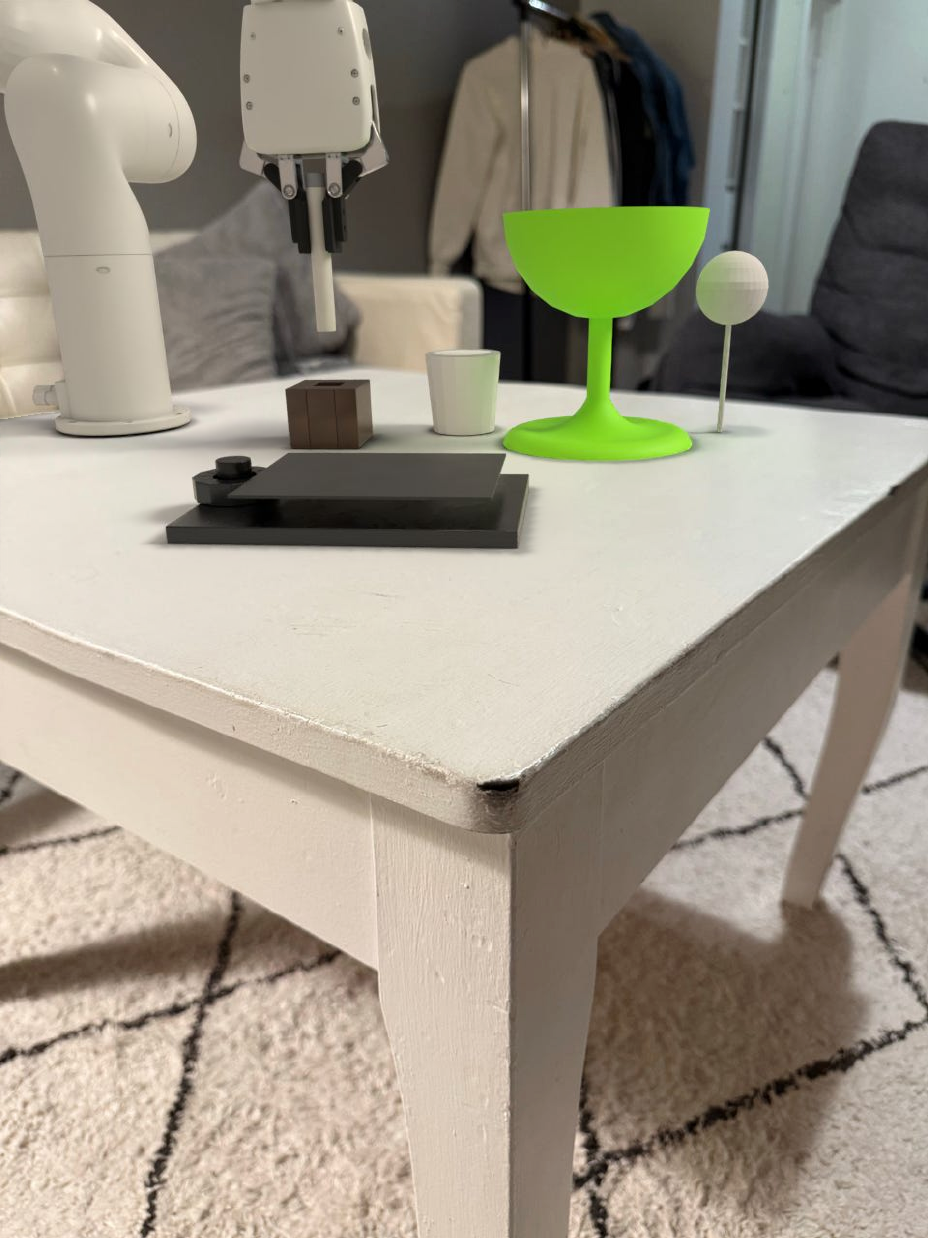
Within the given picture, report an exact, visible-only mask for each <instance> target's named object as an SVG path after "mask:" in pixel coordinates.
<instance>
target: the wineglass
mask: <svg viewBox="0 0 928 1238" xmlns="http://www.w3.org/2000/svg"><path fill="white" fill-rule="evenodd" d="M710 212H711V208H709V207H702V206H674V205H673V206H669V205H667V206H665V205H663V206H662V205H661V206H660V205H659V206H658V205H657V206H656V205H655V206H651V205H649V206H648V205H647V206H644V205H643V206H598V207H597V206H596V207H594V206H593V207H571V208H570V207H566V208H546V209H530V210H519V211H509V212H503V213H502V214H501V215H502V221H503V222H502V223H503V230H504V238H505V244H506V247H507V250H508V252H509V255H510V258H511V260H512V262H513V265H514V267H515V269H516V271H517V272H518V274H519V275H520V276H521V278H522V279H523V280H524V282H525V283H526V285H527V286H528V288H529V289H530V290H531V291H532V292H533V293H534V294H535V295H537V296H538V297H539V298H540V299H542V300H543V301H544V302H546V303H547V304H548V305H549V306H550V307H552V308H554V309H556V310H559V311H562V312H564V313H566V314H568V315H571V316H573V317H577V318H583V319H584V318H585V319H588V339H587V341H588V342H587V368H586V369H587V370H586V371H587V372H586V373H587V374H586V397H585V400H584V401H583V403H582V404H581V406H580V408H579V409H578V410H577V411H576V412H575V413H574V414H573V415H564V416H563V415H562V416H553V417H545V418H539V419H533V420H530V421H525V422H522V423H519V424H517V425H516V426H514V427H512V428H511V429H509V430H508V431H507V433H506V434H505V436H504V439H503V442H502V446H504V447H505V448H506V449H507V450H508V451H514V452H516V453H518V454H519V453H520V454H524V455H528V456H533V457H539V458H547V459H554V460H564V461H565V460H566V461H585V462H617V461H635V460H645V459H655V458H662V457H667V456H672V455H676V454H680V453H683V452H686V451H687V452H688V451H689V450H690V449H691V448H692V446H693V441H692V439H691V437H690V435H689V434H688V433H687V431H686V430H685V429H684V428H682V427H680V426H678V425H676V424H674V423H671V422H667V421H663V420H660V419H653V418H646V417H640V416H627V415H621V414H620V412H618V410H617V409H616V407H615V406H614V404H613V402H612V399H611V398H610V392H611V391H610V389H611V367H612V366H611V365H612V339H613V319H614V318H623V317H627V316H629V315H632V314H634V313H637V312H640V311H641V310H644V309H646V308H648V307H651V306H653V305H654V304H655V303H657V302H658V301H660V299H662V298H663V297H665V295H667V294H669V292H671V291H672V290H674V289H675V287H676V286H677V285H678V283H679V282H680V281H681V280H682V279H683V278H684V276H685V275H686V274H687V272H688V271H689V270H690V269H691V267H692V266H693V264H694V263H695V260H696V258H697V256H698V254H699V251H700V249H701V247H702V245H703V243H704V241H705V237H706V233H707V229H708V228H707V227H708V222H709V218H710Z"/></svg>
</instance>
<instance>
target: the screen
mask: <svg viewBox="0 0 928 1238" xmlns="http://www.w3.org/2000/svg"><path fill="white" fill-rule="evenodd" d="M506 457H507V453H504V452H503V453H502V452H501V453H500V452H499V453H498V452H491V453H490V452H485V453H484V452H467V453H466V452H455V453H454V452H287V453H285V454H284V455H283V456H282V457H280V458H278V459H277V460H275V461H274V462H273V463H271V464H270V465H268V466H267V467H265V468H266V469H264V470H263V471H261V472H260V473H258V474H257V475H256V476H254V477H253V478H251V479H250V480H248V481H247V482H246V483H244V484H243V485H241V486H240V487H238V488H237V489H236V490H234V491H233V492H231V493H230V494H228V495H227V496H228V498H233V499H342V500H450V501H492V498H493V495H494V491H495V488H496V485H497V482H498V479H499V476H500V474H502V471H503V466H504V464H505V461H506Z"/></svg>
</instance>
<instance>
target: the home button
mask: <svg viewBox="0 0 928 1238" xmlns="http://www.w3.org/2000/svg"><path fill="white" fill-rule="evenodd" d="M214 464H215V469H216V473H217V479H218V480H237V479H245V478H249V477H253V472H252V466H253V465H252V458H251V457H250V456H248V455H247V456H246V455H227V456H223V457H218V458H216V459H215V461H214Z"/></svg>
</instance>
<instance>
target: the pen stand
mask: <svg viewBox="0 0 928 1238" xmlns="http://www.w3.org/2000/svg"><path fill="white" fill-rule="evenodd" d="M284 391H285V402H286V414H287V423H288V424H287V426H288V436H289V437H288V438H289V447H290V449H321V450H323V449H329V450H330V449H332V450H334V449H335V450H337V449H353V450H355V449H356V450H357V449H360V448H362V446H363V445H364V444H365V443H367V442H368V441H369V440H370V439H371V438H372V437H373V436H374V427H373V425H374V424H373V409H372V391H371V379H303V380H301V381H300V382H298V383H295V384H293V385H291V386H289V387H286V388H285V389H284Z"/></svg>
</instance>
